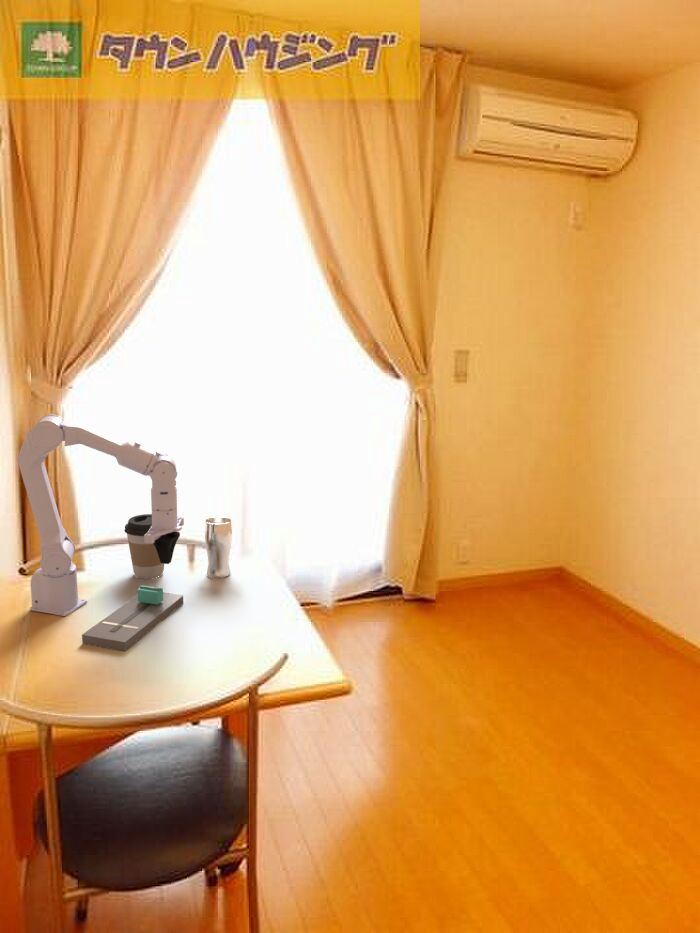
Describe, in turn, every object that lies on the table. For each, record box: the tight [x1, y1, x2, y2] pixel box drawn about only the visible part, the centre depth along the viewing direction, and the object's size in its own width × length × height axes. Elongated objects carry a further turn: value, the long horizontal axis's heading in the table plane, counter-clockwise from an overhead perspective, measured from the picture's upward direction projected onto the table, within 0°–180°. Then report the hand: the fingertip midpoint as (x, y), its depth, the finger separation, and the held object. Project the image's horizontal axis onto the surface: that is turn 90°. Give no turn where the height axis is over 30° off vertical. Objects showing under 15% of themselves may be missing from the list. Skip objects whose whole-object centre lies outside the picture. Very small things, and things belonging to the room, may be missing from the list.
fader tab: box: [137, 585, 164, 605], centre depth 150 cm, size 5×2×3 cm, turn 76°
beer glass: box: [204, 515, 233, 579], centre depth 172 cm, size 7×7×15 cm
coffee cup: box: [124, 513, 165, 580], centre depth 170 cm, size 11×11×15 cm
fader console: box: [81, 591, 184, 652], centre depth 145 cm, size 10×24×2 cm, turn 166°
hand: (165, 562), depth 155 cm, fingers closed
